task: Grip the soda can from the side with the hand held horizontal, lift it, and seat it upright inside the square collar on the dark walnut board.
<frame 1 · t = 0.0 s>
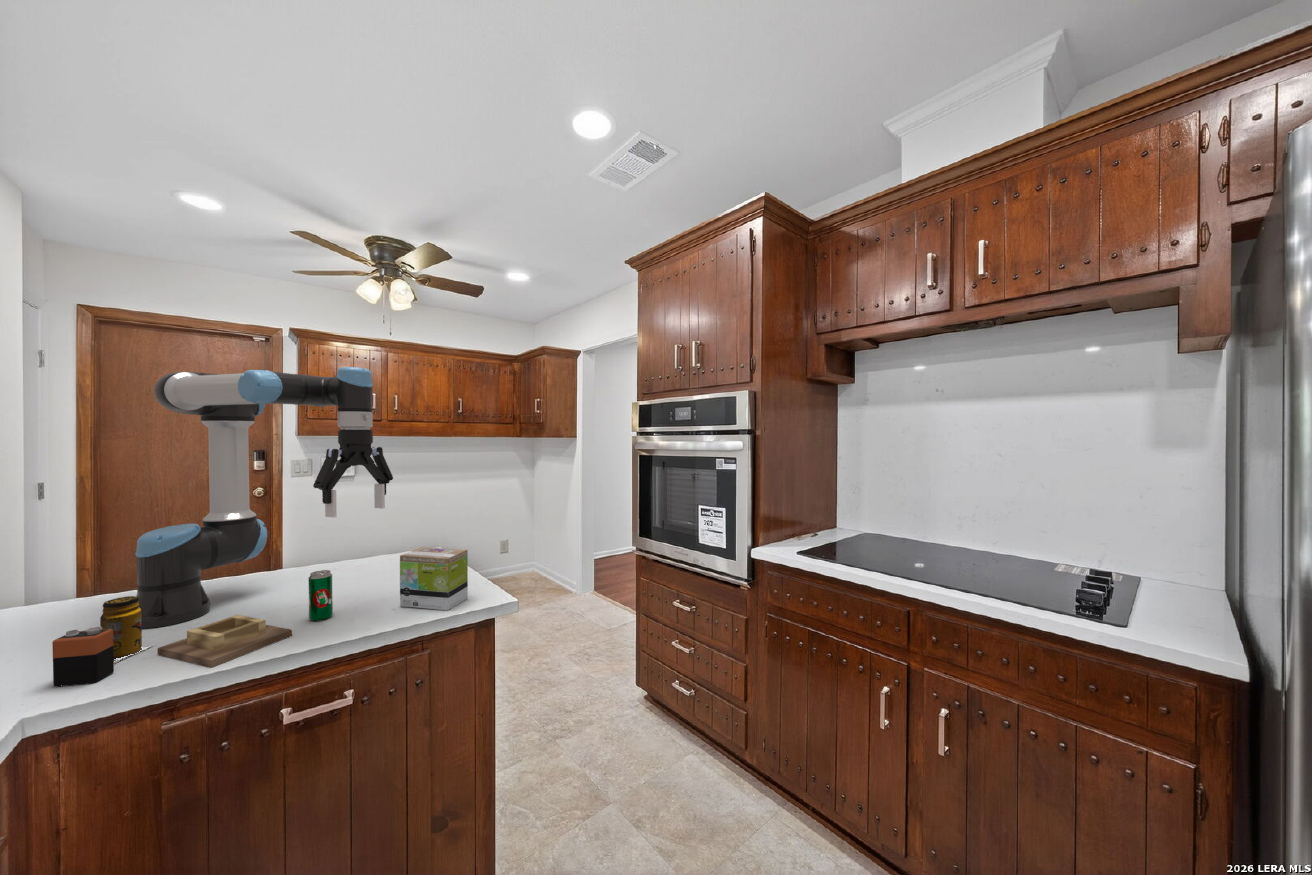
hand: (356, 512, 122), 28 cm above the worktop, tool pointing down, fingers open, 13 cm apart
collar board: (227, 644, 109), on the worktop
battery: (84, 681, 94), on the worktop
tea box: (434, 603, 135), on the worktop
condiment: (116, 656, 104), on the worktop
soda can: (321, 618, 125), on the worktop
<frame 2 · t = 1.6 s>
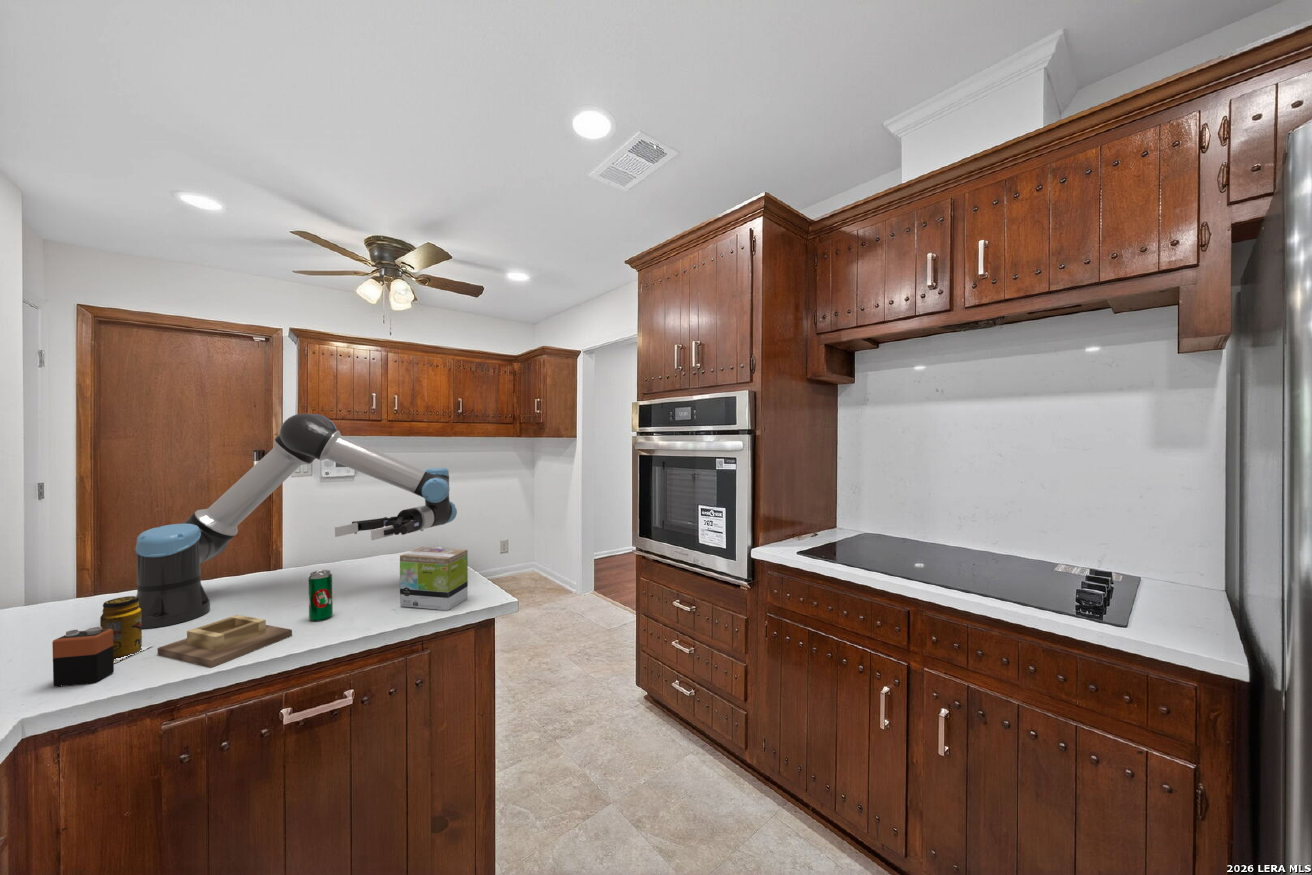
hand: (353, 533, 133), 20 cm above the worktop, tool horizontal, fingers open, 13 cm apart
nothing on the worktop moved.
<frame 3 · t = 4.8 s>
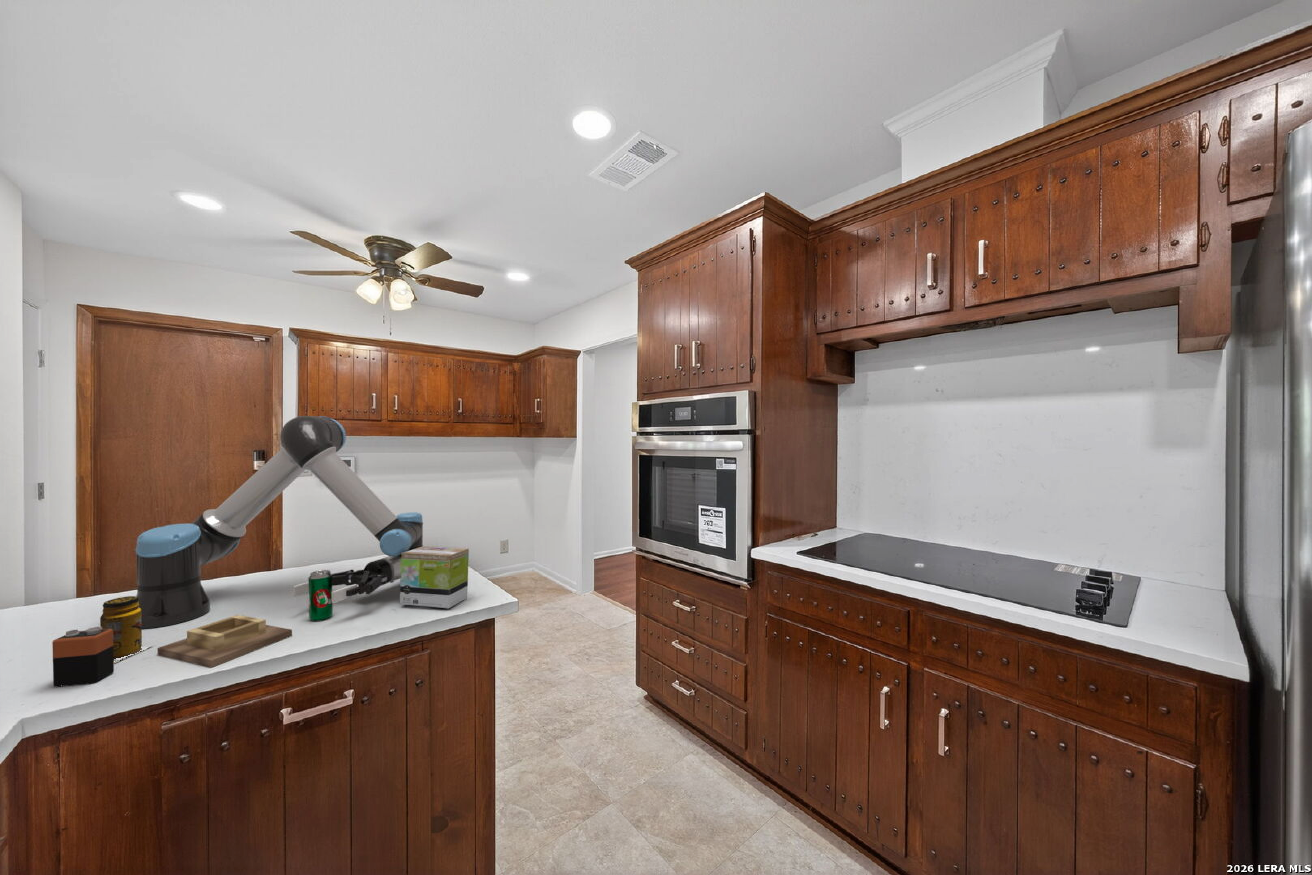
hand: (312, 594, 122), 7 cm above the worktop, tool horizontal, fingers open, 13 cm apart
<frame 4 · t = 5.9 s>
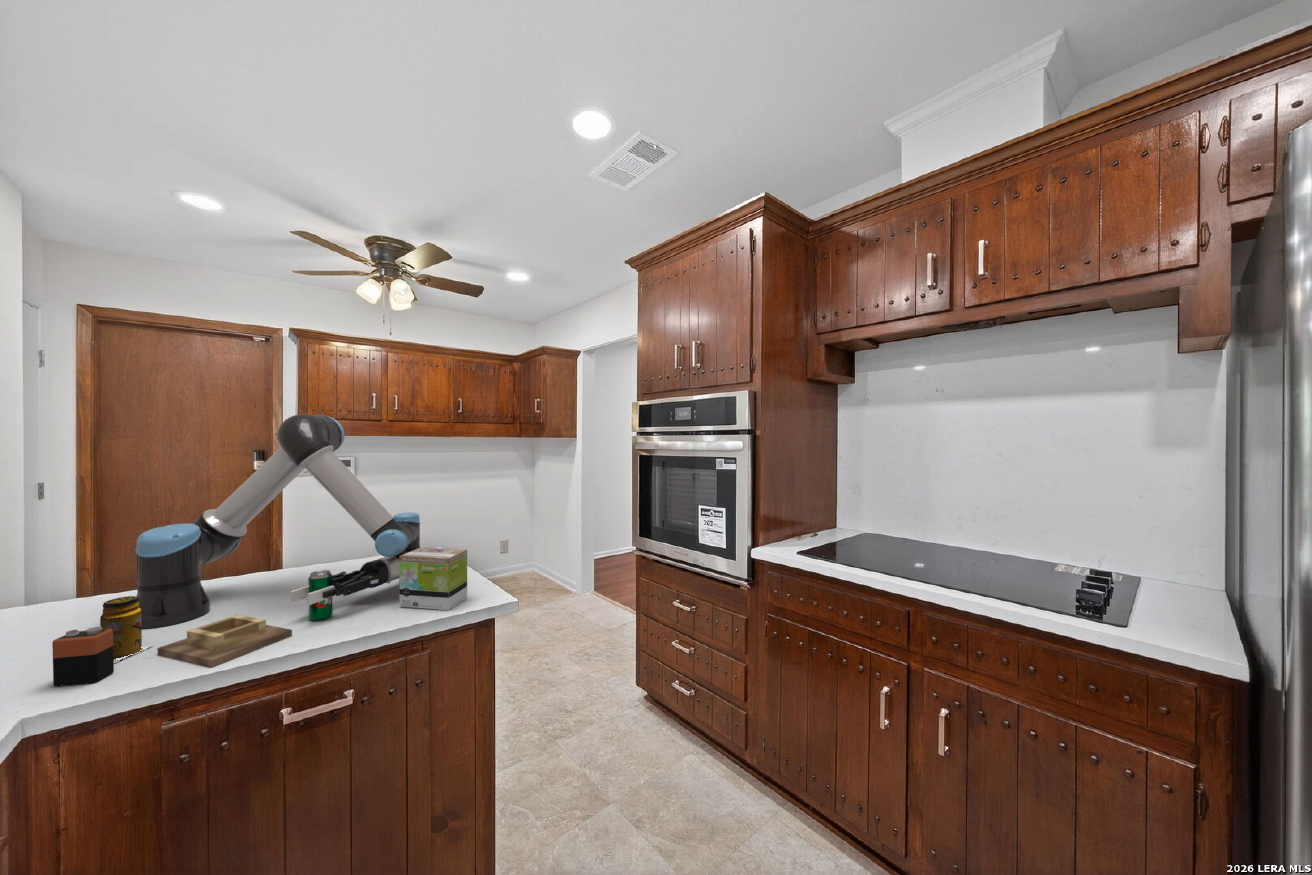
hand: (300, 598, 120), 7 cm above the worktop, tool horizontal, fingers closed on soda can, 5 cm apart
soda can: (321, 618, 125), on the worktop, touching gripper
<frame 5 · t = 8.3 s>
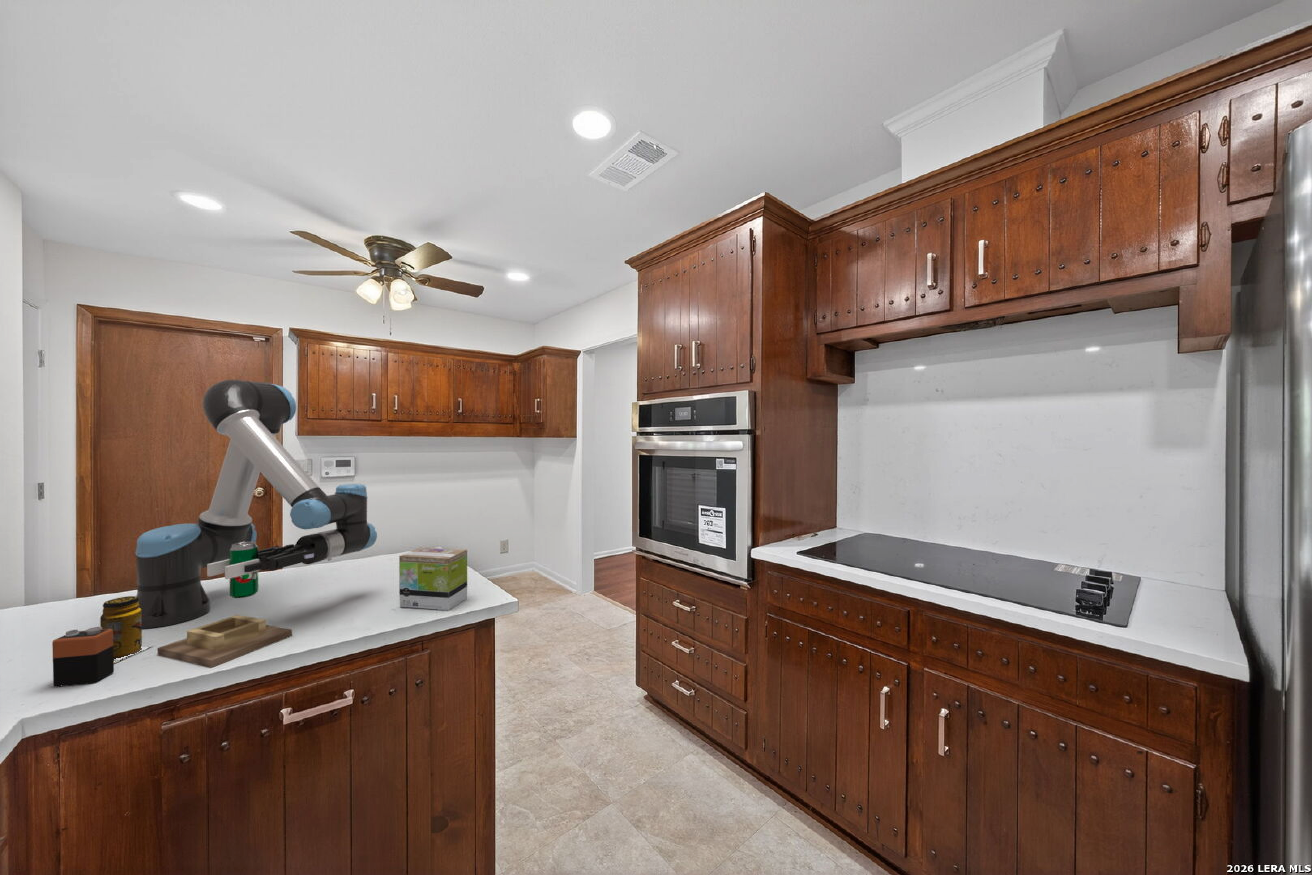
hand: (217, 571, 106), 18 cm above the worktop, tool horizontal, fingers closed on soda can, 5 cm apart
soda can: (244, 596, 111), point 11 cm above the worktop, touching gripper
everything else where it was.
when the fingers open (10 cm above the worktop, at t = 10.7 s): soda can drops 1 cm, resting on collar board.
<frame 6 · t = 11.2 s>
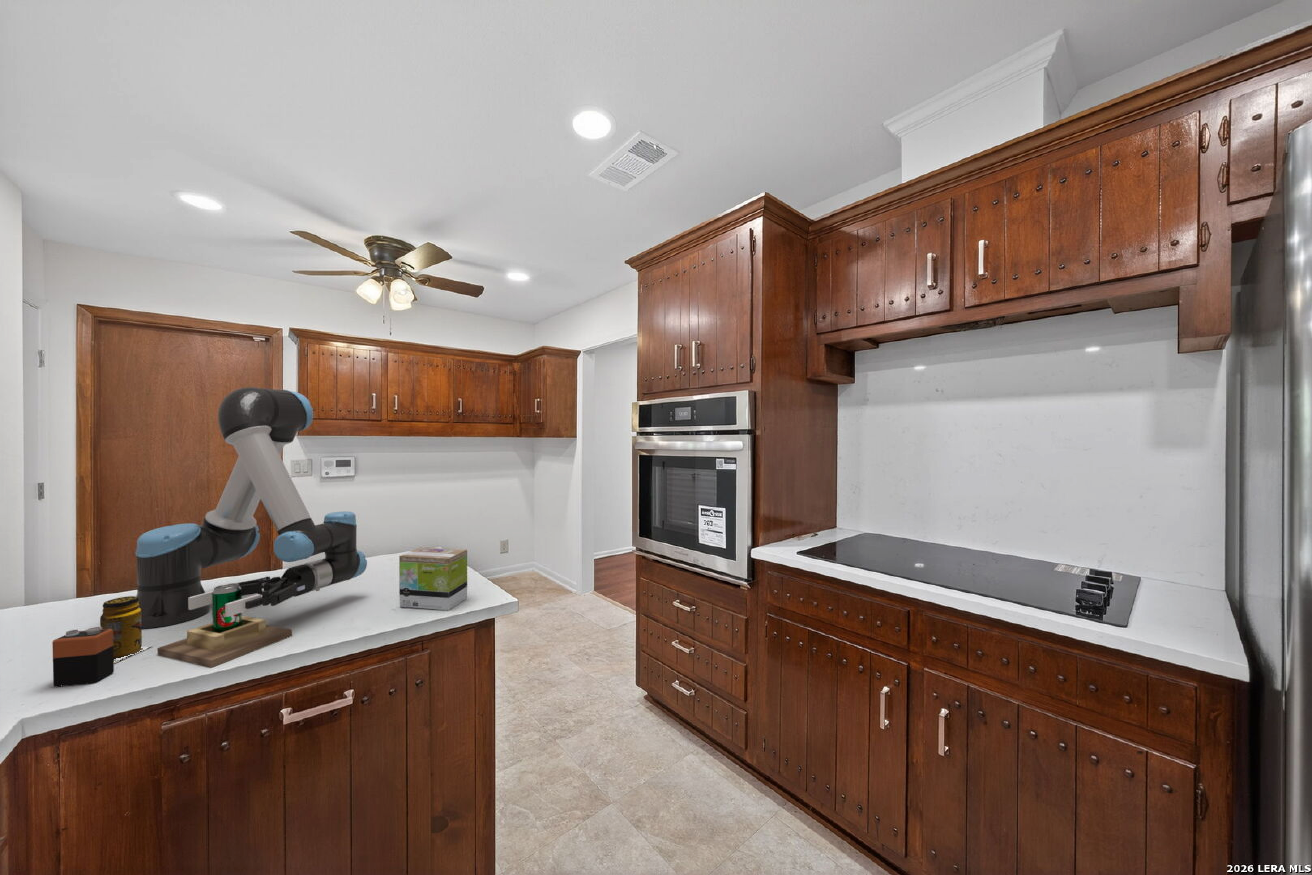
hand: (207, 607, 105), 10 cm above the worktop, tool horizontal, fingers open, 12 cm apart
soda can: (227, 639, 109), point 1 cm above the worktop, touching collar board
everything else where it was.
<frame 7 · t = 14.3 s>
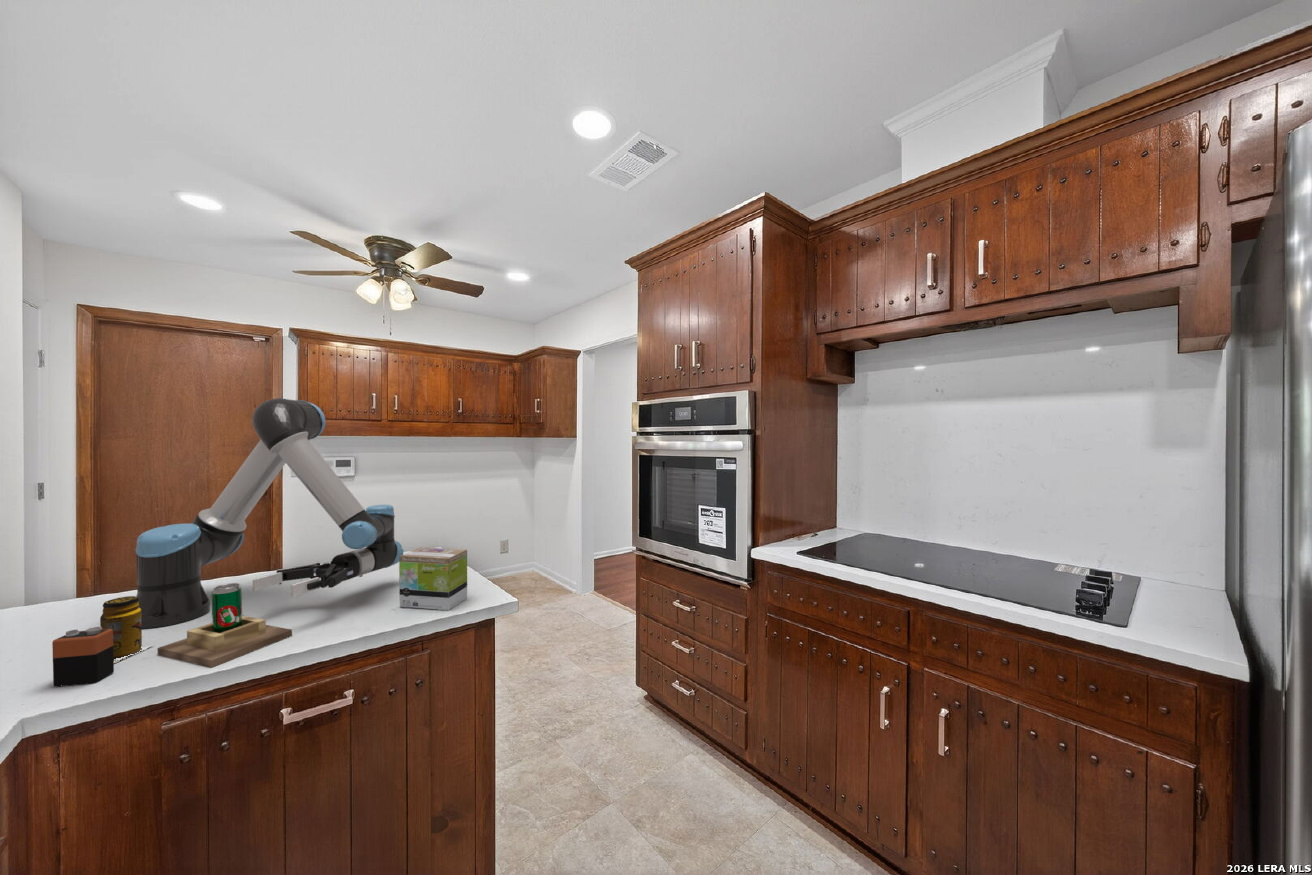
hand: (272, 587, 118), 10 cm above the worktop, tool horizontal, fingers open, 13 cm apart
nothing on the worktop moved.
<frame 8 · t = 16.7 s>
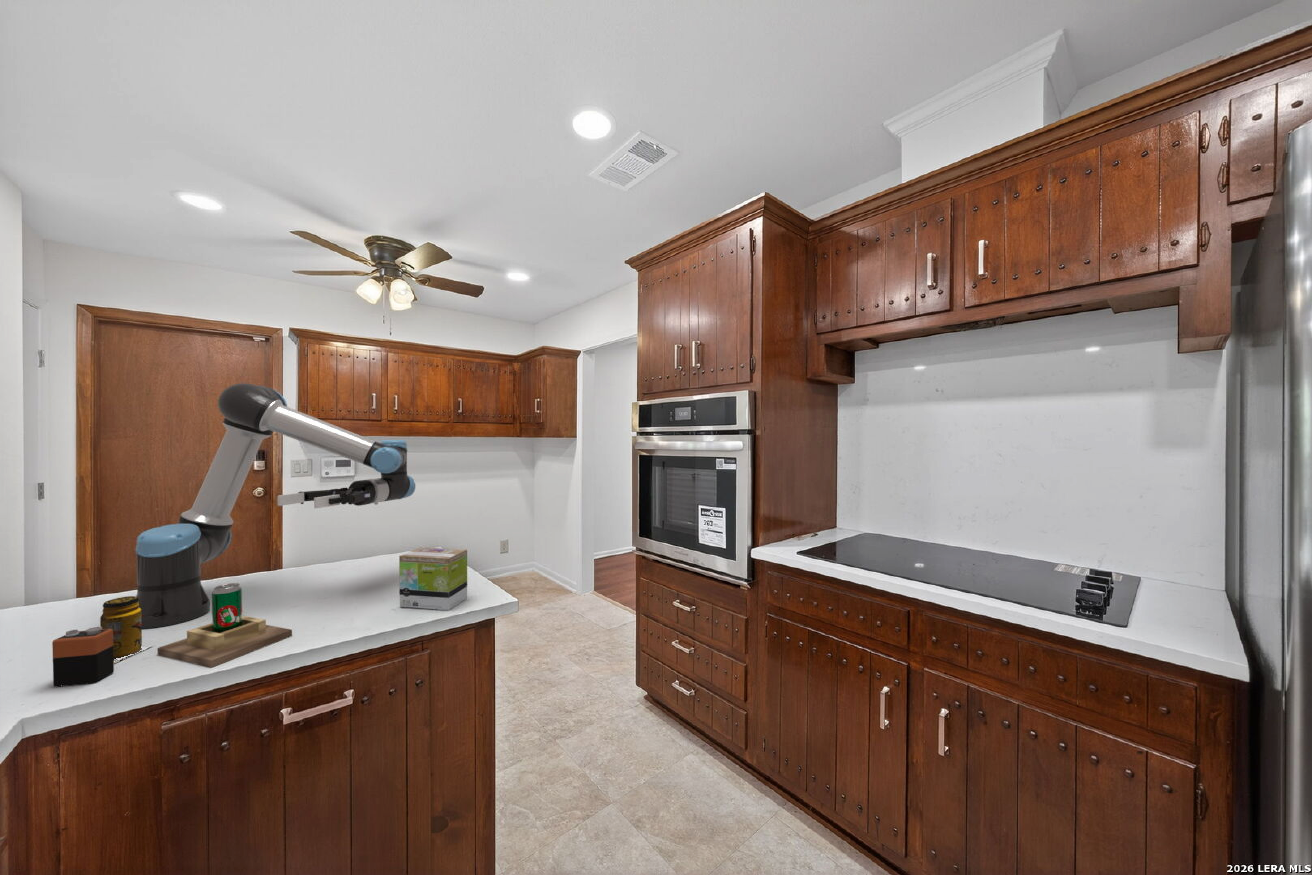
hand: (296, 501, 126), 30 cm above the worktop, tool horizontal, fingers open, 13 cm apart
nothing on the worktop moved.
at the end: soda can 0.0 cm off-centre on the collar board, point 1.3 cm above the collar board's base; soda can tilted 0°; the gripper is holding nothing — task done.
